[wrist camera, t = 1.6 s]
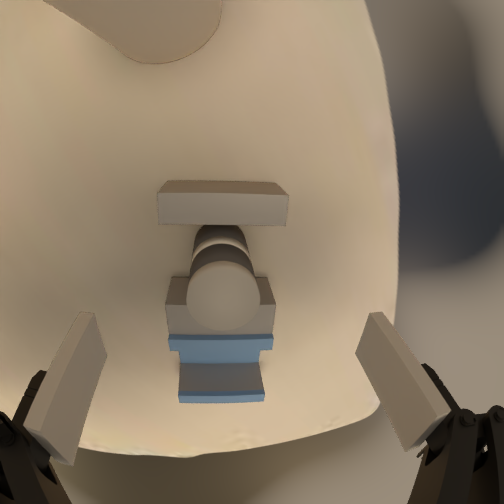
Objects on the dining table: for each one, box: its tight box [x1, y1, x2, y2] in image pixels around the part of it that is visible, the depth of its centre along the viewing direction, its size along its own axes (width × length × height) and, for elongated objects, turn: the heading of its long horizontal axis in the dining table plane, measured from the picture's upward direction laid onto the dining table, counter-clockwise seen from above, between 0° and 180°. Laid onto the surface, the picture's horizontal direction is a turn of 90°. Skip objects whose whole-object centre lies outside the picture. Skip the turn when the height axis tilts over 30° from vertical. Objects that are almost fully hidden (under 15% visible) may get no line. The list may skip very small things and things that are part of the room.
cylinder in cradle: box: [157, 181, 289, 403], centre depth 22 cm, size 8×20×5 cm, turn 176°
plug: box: [186, 225, 260, 331], centre depth 19 cm, size 4×4×8 cm
